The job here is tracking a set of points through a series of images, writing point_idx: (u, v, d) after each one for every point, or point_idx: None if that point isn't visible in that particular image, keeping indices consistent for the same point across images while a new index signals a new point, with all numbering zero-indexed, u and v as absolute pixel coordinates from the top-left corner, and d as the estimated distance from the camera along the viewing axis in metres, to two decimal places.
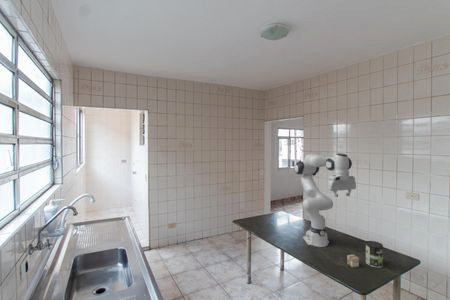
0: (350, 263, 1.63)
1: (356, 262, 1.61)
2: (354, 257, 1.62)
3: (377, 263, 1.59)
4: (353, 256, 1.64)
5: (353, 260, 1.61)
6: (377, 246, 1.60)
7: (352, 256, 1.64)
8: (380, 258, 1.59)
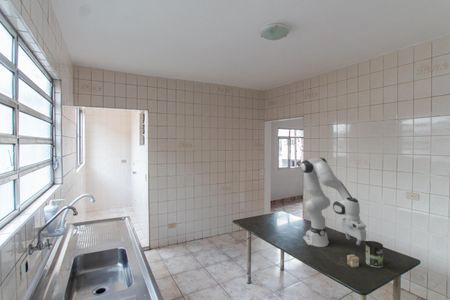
0: (350, 263, 1.63)
1: (356, 262, 1.61)
2: (354, 257, 1.62)
3: (377, 263, 1.59)
4: (353, 256, 1.64)
5: (353, 260, 1.61)
6: (377, 246, 1.60)
7: (352, 256, 1.64)
8: (380, 258, 1.59)
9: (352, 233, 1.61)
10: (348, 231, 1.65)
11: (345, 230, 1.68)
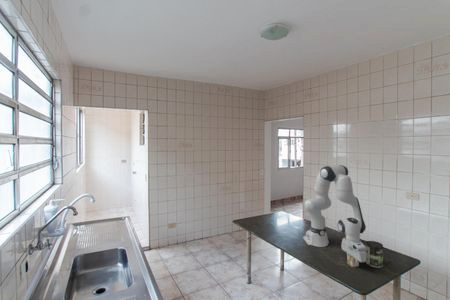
0: (350, 263, 1.63)
1: None
2: None
3: (377, 263, 1.59)
4: None
5: (353, 260, 1.61)
6: (377, 246, 1.60)
7: None
8: (380, 258, 1.59)
9: (352, 254, 1.61)
10: (348, 251, 1.65)
11: (345, 249, 1.69)
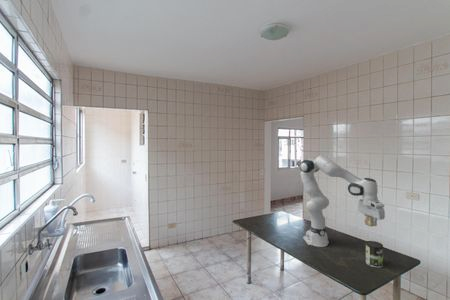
0: (368, 223, 1.62)
1: None
2: None
3: (377, 263, 1.59)
4: None
5: (371, 219, 1.60)
6: (377, 246, 1.60)
7: (370, 216, 1.63)
8: (380, 258, 1.59)
9: (370, 213, 1.61)
10: (365, 211, 1.64)
11: (362, 210, 1.68)
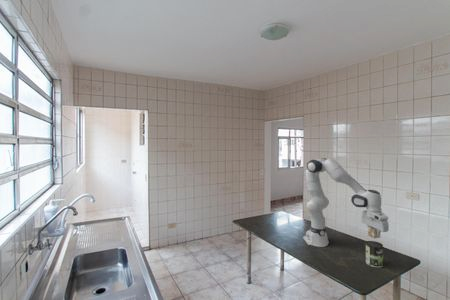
0: (371, 234, 1.63)
1: None
2: None
3: (377, 263, 1.59)
4: None
5: (374, 231, 1.61)
6: (377, 246, 1.60)
7: None
8: (380, 258, 1.59)
9: (373, 225, 1.61)
10: (369, 223, 1.65)
11: (365, 222, 1.69)
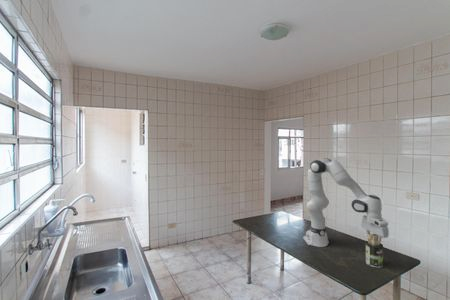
0: (371, 242, 1.63)
1: (377, 241, 1.61)
2: (375, 236, 1.62)
3: (377, 263, 1.59)
4: (374, 235, 1.64)
5: (374, 238, 1.61)
6: (377, 246, 1.60)
7: (373, 235, 1.64)
8: (380, 258, 1.59)
9: (373, 230, 1.61)
10: (369, 228, 1.65)
11: (365, 227, 1.69)
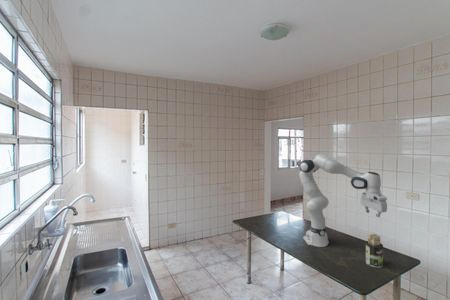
0: (371, 242, 1.63)
1: (377, 241, 1.61)
2: (375, 236, 1.62)
3: (377, 263, 1.59)
4: (374, 235, 1.64)
5: (374, 238, 1.61)
6: (377, 246, 1.60)
7: (373, 235, 1.64)
8: (380, 258, 1.59)
9: (372, 206, 1.64)
10: (368, 204, 1.68)
11: (364, 203, 1.71)
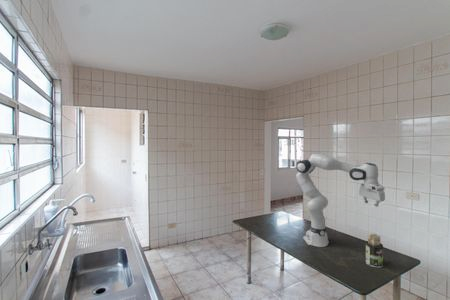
0: (371, 242, 1.63)
1: (377, 241, 1.61)
2: (375, 236, 1.62)
3: (377, 263, 1.59)
4: (374, 235, 1.64)
5: (374, 238, 1.61)
6: (377, 246, 1.60)
7: (373, 235, 1.64)
8: (380, 258, 1.59)
9: (371, 196, 1.69)
10: (366, 195, 1.73)
11: (363, 194, 1.77)
